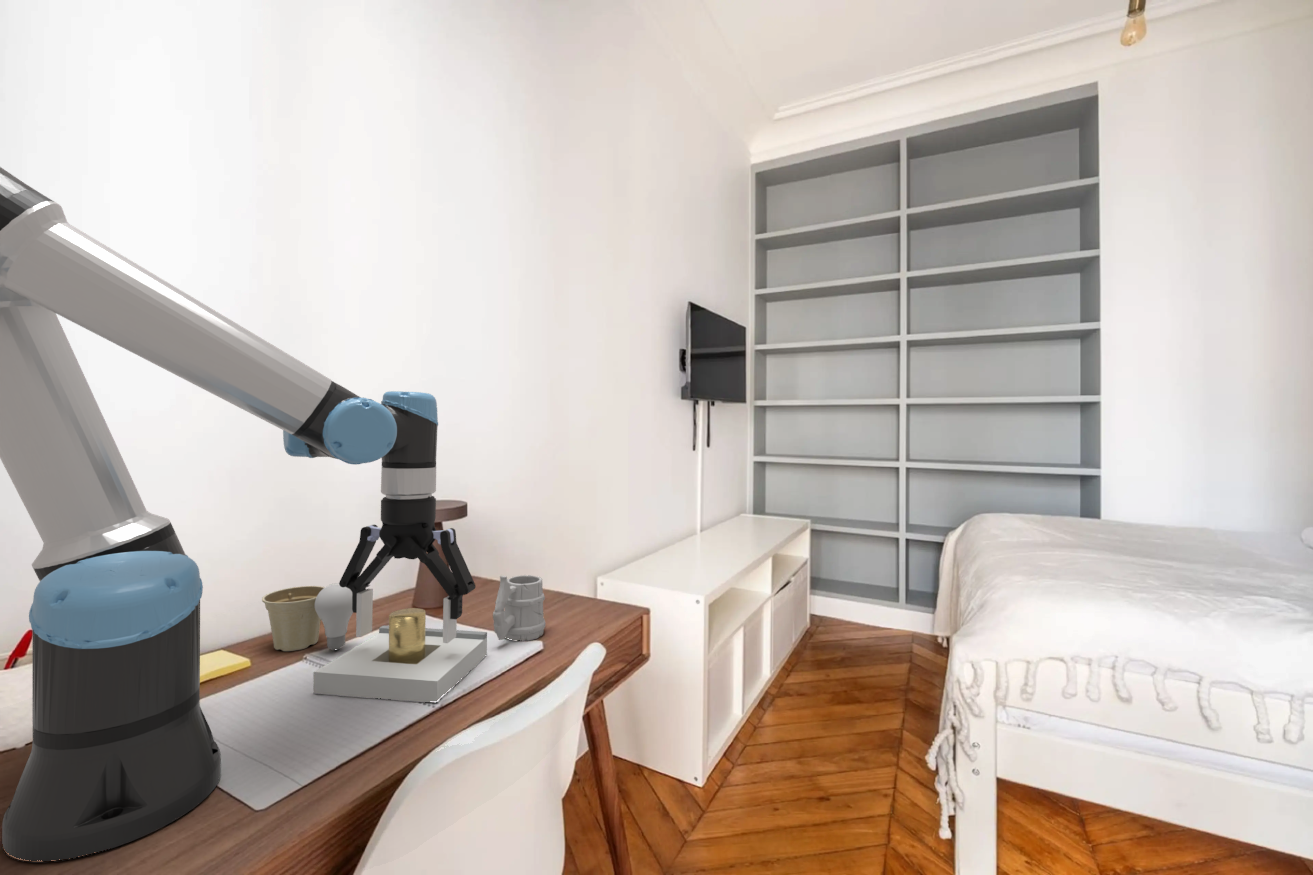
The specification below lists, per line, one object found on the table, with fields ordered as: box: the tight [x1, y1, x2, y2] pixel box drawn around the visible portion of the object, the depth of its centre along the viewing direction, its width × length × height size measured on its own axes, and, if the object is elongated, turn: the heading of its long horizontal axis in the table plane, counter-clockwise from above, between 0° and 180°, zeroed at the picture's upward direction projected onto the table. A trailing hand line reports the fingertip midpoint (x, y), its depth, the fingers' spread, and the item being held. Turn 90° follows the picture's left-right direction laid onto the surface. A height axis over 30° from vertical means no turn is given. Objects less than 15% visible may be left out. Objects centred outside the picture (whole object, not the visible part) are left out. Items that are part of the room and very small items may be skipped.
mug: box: [492, 574, 546, 642], centre depth 98 cm, size 8×12×12 cm, turn 158°
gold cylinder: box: [388, 607, 427, 664], centre depth 84 cm, size 5×5×9 cm
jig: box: [312, 625, 488, 703], centre depth 84 cm, size 16×18×4 cm
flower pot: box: [261, 585, 326, 652], centre depth 93 cm, size 9×9×9 cm
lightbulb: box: [315, 582, 354, 651], centre depth 91 cm, size 6×6×11 cm
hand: (406, 636), depth 83 cm, fingers open, 13 cm apart
